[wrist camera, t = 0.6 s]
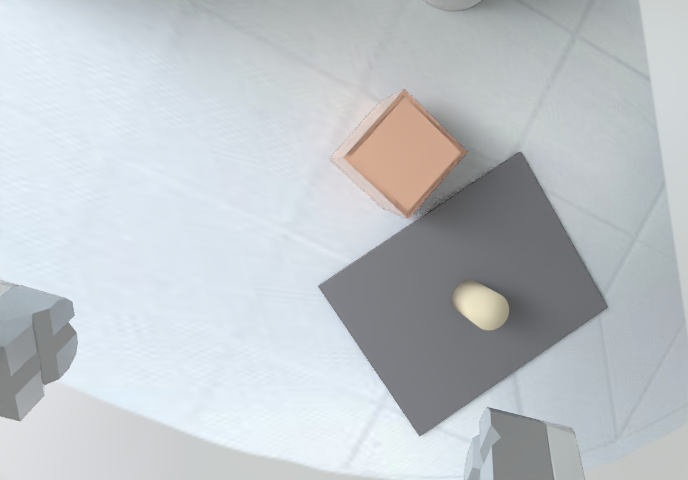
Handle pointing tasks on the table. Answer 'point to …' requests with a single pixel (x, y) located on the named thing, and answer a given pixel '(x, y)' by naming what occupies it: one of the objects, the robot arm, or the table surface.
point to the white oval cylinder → (452, 4)
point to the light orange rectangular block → (398, 154)
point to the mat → (436, 265)
